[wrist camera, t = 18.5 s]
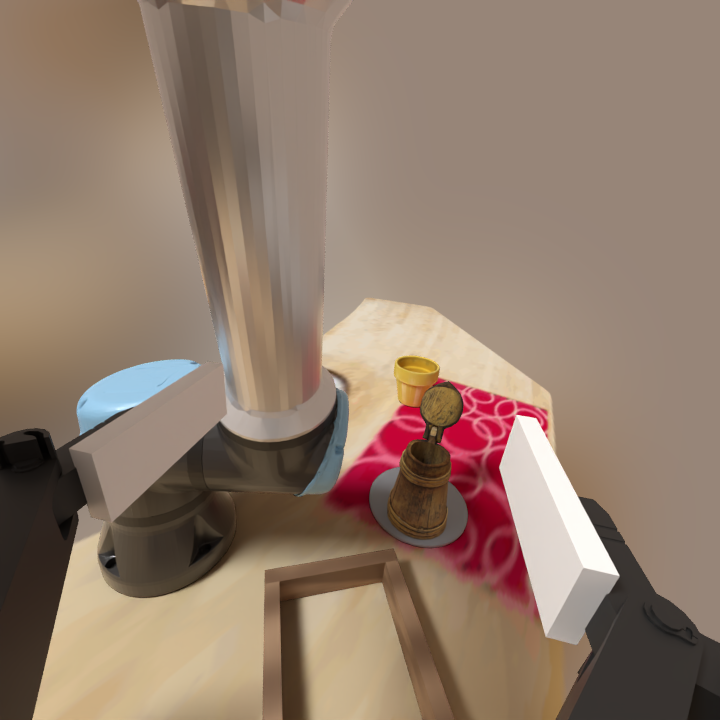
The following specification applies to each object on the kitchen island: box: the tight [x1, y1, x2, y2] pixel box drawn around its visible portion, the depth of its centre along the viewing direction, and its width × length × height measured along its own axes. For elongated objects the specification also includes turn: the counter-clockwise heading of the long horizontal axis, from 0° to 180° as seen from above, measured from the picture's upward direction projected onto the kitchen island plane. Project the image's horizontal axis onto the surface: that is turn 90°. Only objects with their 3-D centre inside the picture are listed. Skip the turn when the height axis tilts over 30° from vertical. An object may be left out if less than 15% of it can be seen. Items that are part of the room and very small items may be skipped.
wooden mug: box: [387, 381, 463, 540], centre depth 47 cm, size 9×14×18 cm, turn 157°
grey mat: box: [369, 467, 468, 548], centre depth 51 cm, size 15×15×1 cm
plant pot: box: [394, 356, 440, 407], centre depth 79 cm, size 10×10×10 cm
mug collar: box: [263, 549, 455, 720], centre depth 30 cm, size 20×15×4 cm
